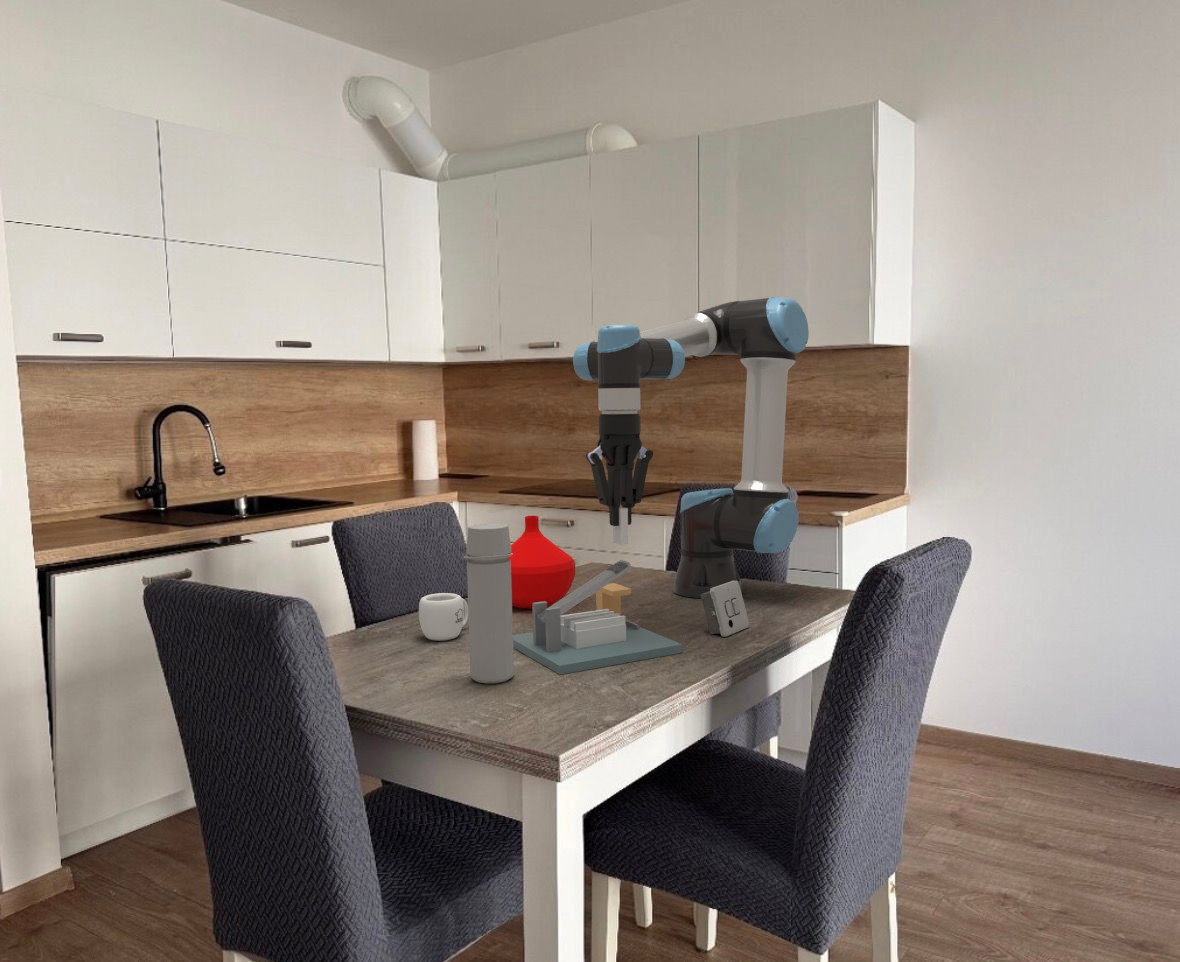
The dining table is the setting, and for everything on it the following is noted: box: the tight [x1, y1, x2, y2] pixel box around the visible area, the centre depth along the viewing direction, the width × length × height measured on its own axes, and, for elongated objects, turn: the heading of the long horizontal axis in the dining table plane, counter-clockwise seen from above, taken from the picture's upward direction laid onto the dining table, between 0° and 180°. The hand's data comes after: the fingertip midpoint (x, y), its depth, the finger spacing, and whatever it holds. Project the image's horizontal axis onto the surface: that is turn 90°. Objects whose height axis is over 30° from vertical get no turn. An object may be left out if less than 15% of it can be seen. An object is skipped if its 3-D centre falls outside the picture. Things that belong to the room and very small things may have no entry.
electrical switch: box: [700, 581, 750, 638], centre depth 183 cm, size 9×5×9 cm, turn 141°
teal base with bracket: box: [513, 601, 683, 675], centre depth 172 cm, size 24×22×9 cm
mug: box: [418, 592, 469, 642], centre depth 184 cm, size 12×8×8 cm
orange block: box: [595, 582, 632, 616], centre depth 181 cm, size 4×6×8 cm, turn 28°
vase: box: [507, 515, 576, 610], centre depth 208 cm, size 18×18×19 cm
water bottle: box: [463, 522, 515, 685], centre depth 156 cm, size 9×8×25 cm
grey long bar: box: [537, 559, 632, 623], centre depth 171 cm, size 19×3×1 cm, turn 118°
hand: (620, 543), depth 174 cm, fingers closed
